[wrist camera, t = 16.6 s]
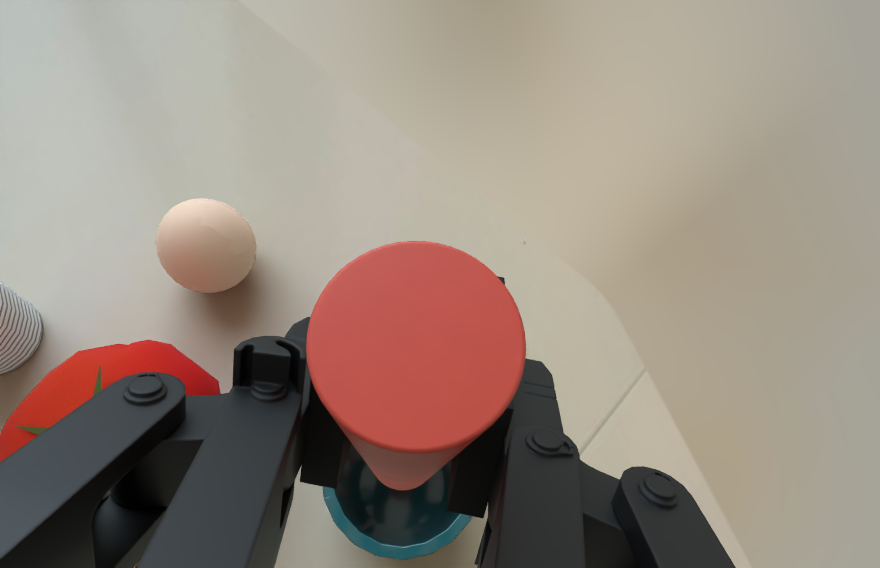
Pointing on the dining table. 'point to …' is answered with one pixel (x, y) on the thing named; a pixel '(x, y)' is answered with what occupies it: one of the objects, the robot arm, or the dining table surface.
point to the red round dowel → (415, 356)
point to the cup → (17, 329)
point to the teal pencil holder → (393, 512)
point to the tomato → (96, 385)
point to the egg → (205, 245)
